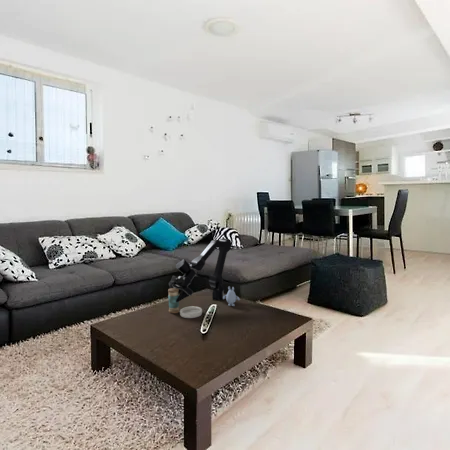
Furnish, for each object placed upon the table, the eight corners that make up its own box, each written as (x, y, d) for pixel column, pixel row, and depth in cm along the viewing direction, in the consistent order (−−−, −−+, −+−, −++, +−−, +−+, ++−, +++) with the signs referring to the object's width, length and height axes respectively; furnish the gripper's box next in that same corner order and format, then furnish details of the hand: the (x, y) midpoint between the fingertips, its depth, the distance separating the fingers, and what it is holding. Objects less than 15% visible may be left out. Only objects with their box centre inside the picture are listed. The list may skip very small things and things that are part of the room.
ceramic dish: (203, 310, 203) (203, 306, 203) (199, 318, 191) (199, 314, 190) (183, 309, 205) (183, 306, 204) (177, 317, 193) (177, 313, 192)
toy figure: (241, 304, 211) (240, 285, 210) (238, 308, 206) (238, 288, 204) (224, 303, 215) (224, 284, 213) (221, 306, 209) (221, 287, 207)
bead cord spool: (180, 309, 205) (180, 288, 203) (177, 313, 199) (177, 291, 197) (170, 309, 206) (169, 287, 204) (167, 313, 200) (166, 291, 198)
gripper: (170, 267, 209) (155, 288, 204) (188, 273, 195) (171, 296, 189) (182, 277, 215) (167, 299, 210) (199, 284, 201) (184, 307, 195)
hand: (172, 300), depth 201 cm, fingers open, 9 cm apart
